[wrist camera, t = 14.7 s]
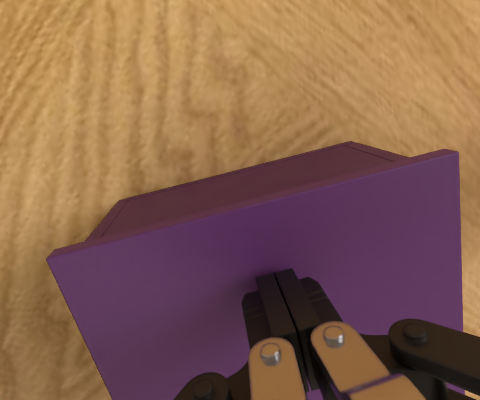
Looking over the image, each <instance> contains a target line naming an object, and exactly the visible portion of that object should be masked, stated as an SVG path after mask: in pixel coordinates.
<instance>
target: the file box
mask: <svg viewBox="0 0 480 400" xmlns="http://www.w3.org/2000/svg"><path fill="white" fill-rule="evenodd" d="M407 158H409V157H406V156H402V155H399V154H395V153H392V152H388V151H385V150H381V149H378V148H374V147H371V146H367V145H364V144H360V143H356V142H352V141H350V142H346V143H342V144H338V145H334V146H330V147H326V148H322V149H318V150H314V151H310V152H306V153H303V154H299V155H295V156H291V157H287V158H283V159H279V160H275V161H271V162H267V163H263V164H260V165H256V166H252V167H248V168H244V169H240V170H236V171H232V172H228V173H224V174H220V175H216V176H213V177H209V178H205V179H201V180H197V181H193V182H189V183H185V184H181V185H177V186H173V187H169V188H166V189H162V190H158V191H154V192H150V193H146V194H142V195H138V196H134V197H130V198H126V199H123V200H119V201H118V202H117V203H116V204H115V206H114V207H113V208H112V209H111V210H110V212H109V213H108V214H107V215H106V216H105V218H104V219H103V220H102V221H101V222H100V224H99V225H98V226H97V227H96V228H95V230H94V231H93V232H92V233H91V234H90V236H89V237H88V238H87V239H86V240H85V241H89V240H93V239H97V238H101V237H105V236H109V235H113V234H116V233H120V232H124V231H128V230H132V229H136V228H140V227H144V226H147V225H151V224H155V223H159V222H163V221H167V220H171V219H174V218H178V217H182V216H186V215H190V214H194V213H198V212H202V211H205V210H209V209H213V208H217V207H221V206H225V205H229V204H233V203H236V202H240V201H244V200H248V199H252V198H256V197H260V196H264V195H267V194H271V193H275V192H279V191H283V190H287V189H291V188H294V187H298V186H302V185H306V184H310V183H314V182H318V181H322V180H325V179H329V178H333V177H337V176H341V175H345V174H349V173H353V172H356V171H360V170H364V169H368V168H372V167H376V166H380V165H384V164H387V163H391V162H395V161H399V160H403V159H407Z"/></svg>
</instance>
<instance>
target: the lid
mask: <svg viewBox="0 0 480 400" xmlns="http://www.w3.org/2000/svg"><path fill="white" fill-rule="evenodd" d="M46 260H47V263H48V265H49V267H50V269H51V271H52V273H53V275H54V277H55V279H56V282H57V284H58V286H59V288H60V290H61V292H62V294H63V296H64V298H65V301H66V303H67V305H68V307H69V309H70V311H71V313H72V315H73V317H74V320H75V322H76V324H77V326H78V328H79V330H80V332H81V334H82V336H83V339H84V341H85V343H86V345H87V347H88V349H89V351H90V353H91V355H92V358H93V360H94V362H95V364H96V366H97V368H98V370H99V372H100V375H101V377H102V379H103V381H104V383H105V385H106V387H107V389H108V391H109V394H110V396H111V398H112V400H174V398H175V397H176V396H177V395H178V393H179V392H180V391H181V390H182V389H183V387H184V386H185V385H186V384H187V383H188V382H189V381H190V380H191V379H192V378H194V377H196V376H198V375H200V374H202V373H207V372H216V373H219V374H221V375H223V376H224V377H225V378H228V377H229V376H231V375H233V374H234V373H236V372H237V371H239V370H240V369H241V368H242V367H243V366H244V365H245V364H246V362H247V361H248V355H249V352H250V347H249V342H248V336H247V331H246V326H245V320H244V315H243V310H242V304H241V302H242V300H243V297H244V295H245V294H246V293H250V292H253V291H257V290H258V288H257V284H256V280H255V277H259V276H263V275H267V274H270V273H273V275H274V272H278V271H281V270H285V269H289V268H293V270H294V272H295V274H296V276H297V278H298V279H302V278H305V277H310V278H312V279H314V280H316V281H317V282H319V284H320V285H321V287H322V289H323V290H324V292H325V293H326V295H327V296H328V298H329V300H330V301H331V303H332V304H333V306H334V308H335V309H336V311H337V312H338V314H339V315H340V317H341V319H342V320H343V322H345V323H347V324H349V325H351V326H352V327H354V328H355V329H356V331H357V332H358V333H361V334H365V335H388V331H389V328H390V327H391V325H392V324H394V323H395V322H397V321H399V320H403V319H421V320H425V321H428V322H431V323H435V324H438V325H441V326H445V327H448V328H451V329H454V330H458V331H461V332H463V305H462V263H461V221H460V179H459V152H457V151H453V150H448V149H442V150H438V151H434V152H430V153H426V154H422V155H418V156H414V157H411V158H407V159H403V160H399V161H395V162H391V163H387V164H384V165H380V166H376V167H372V168H368V169H364V170H360V171H356V172H353V173H349V174H345V175H341V176H337V177H333V178H329V179H325V180H322V181H318V182H314V183H310V184H306V185H302V186H298V187H294V188H291V189H287V190H283V191H279V192H275V193H271V194H267V195H264V196H260V197H256V198H252V199H248V200H244V201H240V202H236V203H233V204H229V205H225V206H221V207H217V208H213V209H209V210H205V211H202V212H198V213H194V214H190V215H186V216H182V217H178V218H174V219H171V220H167V221H163V222H159V223H155V224H151V225H147V226H144V227H140V228H136V229H132V230H128V231H124V232H120V233H116V234H113V235H109V236H105V237H101V238H97V239H93V240H89V241H85V242H82V243H78V244H74V245H70V246H66V247H62V248H58V249H55V250H54V251H53V252H52V253H51V254H50V255H49V256H48V257H47V258H46ZM274 277H275V276H274ZM307 382H308V380H307ZM308 386H309V391H310V392H306V394H307V399H308V400H323V397H322V394H321V392H320V389H317V390H313V391H312V390H311V388H310V385H309V382H308ZM447 388H449V389H452V390H454V391H456V392H459V393H461V394H464V395H465V390H464V389H461V388H459V387H457V386H454V385H452V384H449V383H447Z"/></svg>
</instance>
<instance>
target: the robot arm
mask: <svg viewBox="0 0 480 400" xmlns="http://www.w3.org/2000/svg"><path fill="white" fill-rule="evenodd" d="M274 276H275V277H274ZM255 280H256V284H257V288H258V290H257V291H253V292H250V293H246V294H245V295H244V297H243V300H242V302H241V304H242V310H243V315H244V320H245V326H246V331H247V336H248V342H249V347H250V352H249V355H248V361H247V362H246V364H245V365H244V366H243V367H242V368H241V369H240V370H239V371H237V372H236V373H234V374H233V375H231V376H229V377H228V378H225V377H224V376H223V375H221V374H219V373H216V372H207V373H202V374H200V375H198V376H196V377H194V378H192V379H191V380H190V381H189V382H188V383H187V384H186V385H185V386H184V387H183V389H182V390H181V391H180V392H179V393H178V395H177V396H176V397H175V398H174V400H308V399H307V394H306V392H310V391H309V386H308V382H309V385H310V388H311V390H312V391H313V390H317V389H320V392H321V394H322V397H323V400H476V399H473V398H471V397H468V396H466V395H464V394H461V393H459V392H456V391H454V390H452V389H449V388H447V383H449V384H452V385H454V386H457V387H459V388H461V389H464V390H466V391H469V392H471V393H474V394H476V395H479V396H480V337H478V336H474V335H471V334H468V333H464V332H461V331H458V330H454V329H451V328H448V327H445V326H441V325H438V324H435V323H431V322H428V321H425V320H421V319H403V320H399V321H397V322H395V323H394V324H392V325H391V327H390V328H389V331H388V335H365V334H361V333H358V332H357V331H356V329H355V328H354V327H352V326H351V325H349V324H347V323H345V322H343V320H342V319H341V317H340V315H339V314H338V312H337V311H336V309H335V308H334V306H333V304H332V303H331V301H330V300H329V298H328V296H327V295H326V293H325V292H324V290H323V289H322V287H321V285H320V284H319V282H317V281H316V280H314V279H312V278H310V277H305V278H302V279H298V278H297V276H296V274H295V272H294V270H293V268H289V269H285V270H281V271H278V272H274V275H273V273H270V274H267V275H263V276H259V277H255ZM307 380H308V382H307Z"/></svg>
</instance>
